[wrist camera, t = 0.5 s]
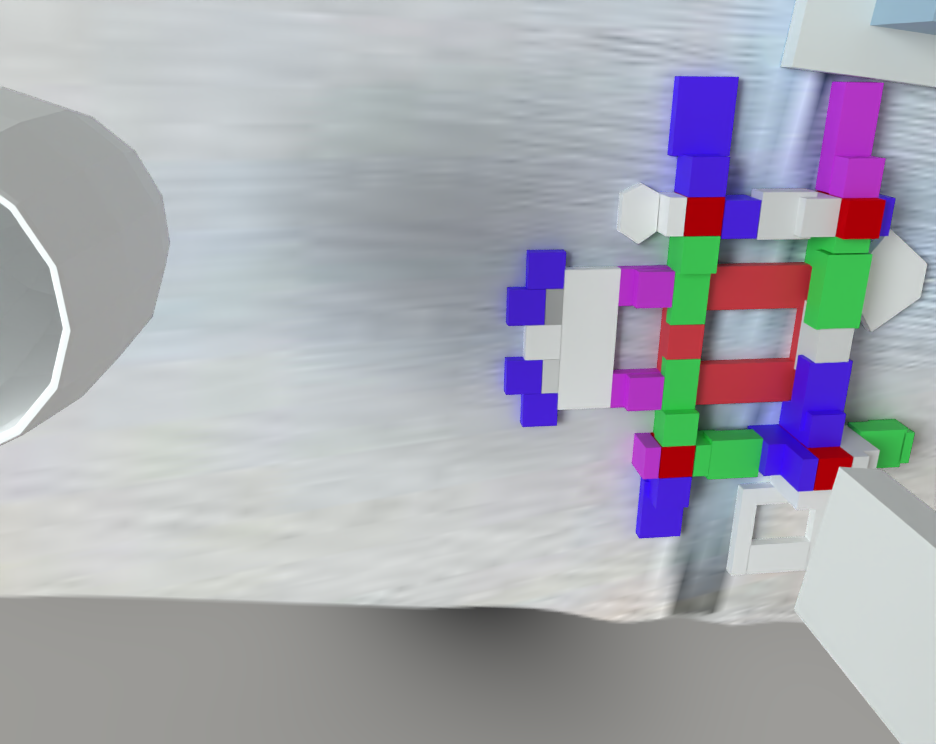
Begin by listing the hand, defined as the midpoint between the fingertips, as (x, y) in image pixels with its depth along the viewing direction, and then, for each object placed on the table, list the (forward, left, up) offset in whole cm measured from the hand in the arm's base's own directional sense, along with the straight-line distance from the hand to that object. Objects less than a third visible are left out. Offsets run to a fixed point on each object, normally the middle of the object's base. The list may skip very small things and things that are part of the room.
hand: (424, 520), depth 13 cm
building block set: (+5, +17, -26) cm, 31 cm away
